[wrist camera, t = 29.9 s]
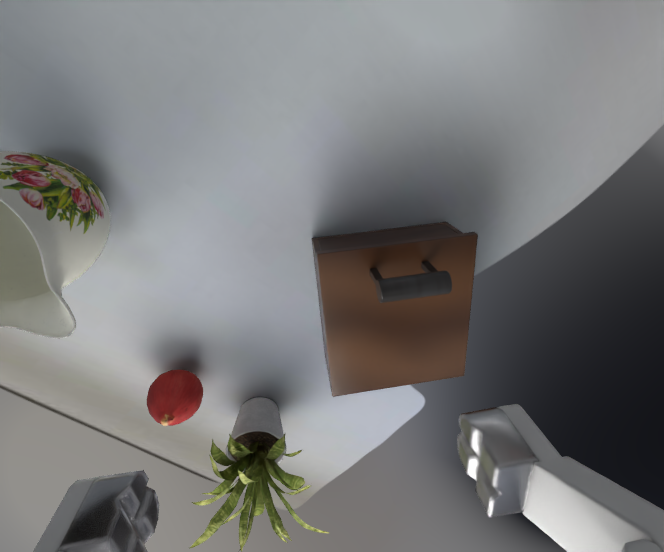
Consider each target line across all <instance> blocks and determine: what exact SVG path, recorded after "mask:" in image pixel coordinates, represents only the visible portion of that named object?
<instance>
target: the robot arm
mask: <svg viewBox="0 0 664 552" xmlns="http://www.w3.org/2000/svg"><path fill="white" fill-rule="evenodd" d="M459 426H460V427H461V430H462V431H461V433H460V434H459V435H458V437H457V439H458V440H457V446H458V452H459V456H460V459H461V462H462V465H463V467H464V469H465V471H466V473H467V474H468V475H470V476H471V477H472V478H474V479H475V480H476V481H477V482H476V493H477V494H478V497H479V499H480V500H481V502H482V504H483V506H484V508H485V510H486V512H487V514H488V516H489V517H494V516H500V515H507V514H513V513H519V512H523V514H524V515H525V516H526V517H527V518H528V519H530V520H531V521H532V522H533V523H534V524H536V525H537V526H538V527H539V528H540V529H541V530H543V531H544V532H545V533H546V534H547V535H549V536H550V537H551V538H552V539H553V540H555V541H556V542H557V543H558V544H559V545H560V546H561V547H563V548H564V549H565V550H566V551H567V552H664V510H662V509H660V508H658V507H657V506H655V505H653V504H651V503H650V502H648V501H646V500H644V499H642V498H641V497H639V496H637V495H635V494H634V493H632V492H630V491H628V490H626V489H625V488H623V487H621V486H619V485H618V484H616V483H614V482H612V481H610V480H609V479H607V478H605V477H603V476H602V475H600V474H598V473H596V472H595V471H593V470H591V469H589V468H587V467H586V466H584V465H582V464H580V463H579V462H577V461H575V460H573V459H572V458H570V457H568V456H567V457H561V456H560V454H559V453H558V452H557V451H556V449H555V448H554V447H553V446H552V444H551V443H550V442H549V441H548V440H547V438H546V437H545V436H544V434H543V433H542V432H541V431H540V429H539V428H538V427H537V426H536V425H535V423H534V422H533V421H532V420H531V418H530V417H529V416H528V415H527V413H526V412H525V411H524V410H523V408H521V406H519V405H517V404H514V405H508V406H502V407H498V408H497V407H495V408H489V409H484V410H479V411H473V412H468V413H463V414H461V415H460V417H459ZM147 482H148V477H147V475H146V473H145V472H144V470H143V471H135V472H129V473H122V474H115V475H108V476H101V477H95V478H89V479H83V480H77V481H76V482H75V483H74V484H73V485H71V486H70V488H69V489H68V491H67V493H66V495H65V497H64V498H63V500H62V502H61V503H60V505H59V507H58V509H57V510H56V512H55V514H54V516H53V517H52V519H51V521H50V523H49V525H48V526H47V528H46V530H45V532H44V533H43V535H42V537H41V539H40V541H39V542H38V544H37V546H36V548H35V549H34V551H33V552H147V549H146V547H145V542H147V540H148V539H149V538H150V537H151V536H152V535H153V533H154V532H155V528H156V525H157V521H158V513H159V502H158V497H157V495H156V492H155V490H153V489H151V488H149V487H147V486H146V485H147Z"/></svg>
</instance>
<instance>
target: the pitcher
mask: <svg viewBox="0 0 664 552" xmlns="http://www.w3.org/2000/svg"><path fill="white" fill-rule="evenodd" d="M109 231H110V211H109V207H108V204H107V202H106V199H105V197H104V195H103V194H102V192H101V191H100V189H99V188H98V187H97V185H96V184H95V183H94V182H93V181H92V180H91V179H90V178H88V177H87V176H86V175H85V174H83V173H82V172H81V171H79V170H78V169H76V168H74V167H72V166H70V165H68V164H66V163H64V162H61V161H59V160H56V159H53V158H49V157H46V156H42V155H37V154H32V153H26V152H14V151H0V327H9V328H16V329H19V330H22V331H25V332H28V333H32V334H35V335H40V336H44V337H49V338H58V339H59V338H65V337H68V336H70V335H71V334H72V333H73V332H74V330H75V328H76V322H75V318H74V316H73V314H72V311H71V309H70V308H69V306H68V305H67V303H66V302H65V300H64V299H63V298H62V288H64V287H66V286H67V285H69V284H71V283H72V282H74V281H75V280H76V279H78V278H79V277H80V276H81V275H83V274H84V273H85V272H86V271H87V270H88V269H89V268H90V267H91V266H92V265H93V264H94V262H95V261H96V260H97V258H98V257H99V255H100V254H101V252H102V250H103V249H104V247H105V244H106V242H107V239H108V236H109Z"/></svg>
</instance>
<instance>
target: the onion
mask: <svg viewBox="0 0 664 552" xmlns="http://www.w3.org/2000/svg"><path fill="white" fill-rule="evenodd" d="M202 397H203V387H202V384H201V382H200V380H199V378H198V377H197V376H196V375H195V374H193V373H191V372H190V371H186V370H181V369H179V370H171V371H168V372H166V373H163V374H161V375H159V377H158V378H157V379H156V380H155V381H154V382H153V383H152V385H151V386H150V388H149V392H148V396H147V406H148V410H149V413H150V415H151V416H152V417H153V418H154V419H155V421H156V422H158V423H160V424H162V425H164V426H167V425H176V424H179V423H181V422H183V421H185V420H187V419H189V418H190V417H192V416H193V414H194V413H195V412H196V411H197V410H198V408H199V407H200V404H201V401H202Z"/></svg>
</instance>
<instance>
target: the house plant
mask: <svg viewBox="0 0 664 552" xmlns="http://www.w3.org/2000/svg"><path fill="white" fill-rule="evenodd" d="M301 451H302V450H300V451H298V452H295V453H292V454H286V444H285V434H283V429H282V424H281V419H280V414H279V410H278V406H277V405H276V403H275V402H273V401H272V400H270V399H268V398H263V397H257V398H252V399H250V400H248V401H246V402H245V403H244V404H243V405H242V406H241V408H240V411H239V414H238V417H237V420H236V422H235V425H234V428H233V431H232V434H231V435H230V438H229V442H228V445H227V448H226V455H225V454H224V453H223V452H222V451H221V450H220V449H219V448H218V447H216V445H215V444H214V443H213V439H212V447H211V455H212V457H213V459H214V460H215V461H216V462H217V463H219V464H221V465H224V466H229V465H231V466H230V467H228V468H227V469H226V470H224V471H220V472H219V471H218V469H217V466H216V464H215V462H214V461H213V459H212V457H211V456H210V459H211V462H212V467H213V471H214V473H215V474H216V475H217V476H218V477H220V478H222V479H225V480H224V481H223V482H222V483H221V484H220V485H219V486H218V487H217V488H216V489H215V490H214V491H213V492H210V493H207V494H211V495H217V496H215V497H214V498H211V499H208V500H204V501H200V502H196V503H193V502H192V503H193V504H196V505H207V504H210V503H212V502H214V501H216V500H217V499H219V498H220V497H222V496H223V495H224V494H227V493H231V492H232V493H231V494H230V496H229V497H228V499H227V500H226V502H225V503H224V505H223V506H222V507H221V508H220V509H219V511H218V512H217V513H216V514H215V515H214V517H213V518H212V519H211V521H210V523H209V525H208V527H207V529H206V530H205V532H204V533H203V534H202V535H201V536H200V537H199V538H198V539H197V540H196V541H195V543H194V544H193V545H192V546H191V547H190V548H192V547H195V546H197V545H199V544H201V543H203V542H204V541H206V540H207V539H208V538H209V537H210V536H212V535H213V534H214V533H215V532H216V531H217V529H218V528H219V527H220V526H221V525H223V524H225V523H226V522H228V521H230V520H232V519H233V518H235V517H236V516H237V515H238V514H240V513H241V516H240V523H239V543H240V547H241V549H240V550H241V551H242V548H243V546H244V545H245V543H246V541H247V539H248V536H249V533H250V530H251V526H252V522H253V517H254V516H258V515H260V514H262V513H263V511H264V503H265V506H266V509H267V512H268V515H269V517H270V521H271V524H272V527H273V530H274V531H275V533H276V534H277V535H278V536H279V537H280V538H281V539H282V540H283V541H285V542H287V541H286V540H285V539H284V538H283V537H282V535H284V536H285V537H286V538H288V539H289V540H291V539H290V538H289V535H288V533H287V531H286V530H285V529H284V527H283V524H282V521H281V518H280V516H279V515H278V513H277V511H276V509H275V507H274V504H273V501H272V497H271V493H270V490H269V487H268V483H269V484H270V486H271V487H273V488H274V489H275V491H276V493H277V494H278V496H279V497H280V499H281V500H282V502H283V503H284V505H285V506H286V508H287V509H288V511H289V512H290V514H291V515H292V516H293V517H294V519H295V520H296V521H297V522H298V523H299V524H300V525H301V526H303V527H305V528H307V529H309V530H312V531H316V532H321V533H328V532H325V531H321V530H318V529H315V528H313V527H311V526H309V525H307V524H306V523H305V522H303V521H302V520H301V519H300V518H299V517H298V516H297V515H296V514H295V512H294V511H293V509H292V508H291V507H290V505H289V504H288V502H287V501H286V500H285V498H284V497H283V496H282V494H281V493H285V492H283V491H282V490H281V489H280V488H279V487H278V486H277V485H276V484H275V483H274V482H273V480H272V478H271V476H270V474H271V475H272V476H273V477H274V478H275V479H277V480H279V481H280V482H281V483H282V484H283V485H285V486H286V487H287V488H289V489H291V490H297V489H299V488H301V487H302V486H303V485H304V483H305V481H304V479H303V478H302V477H299V476H295V475H291V474H288V473H285V472H284V471H283V470H282V469H281V468H280V467H279V466H278V464H279V463H280V462H281V461H282V460H283V458H284V456H289V457H292V456H295V455H297V454H299V453H300V452H301ZM243 471H244V472H243ZM242 472H243V473H242ZM269 473H270V474H269ZM237 476H239V479H238V480H237V481H238V482H237V481H236V482H237V484H236V485H235V486H234V487H233V488H232V489H231V487H232V486H233V485H234V484H233V485H232V486H231V484H232V483H233V482H234V480H235V479H236V477H237ZM236 482H235V483H236ZM247 484H248V486H247V489H246V493H245V498H244V503H243V507H242V508H241V509H240V510H239V511H238V512H236V513H235V514H234V515H233V516H231V517H230V518H228V519H227V517H228V516H229V515H230V514H231V513H232V511H233V510H234V508H235V507H236V505H237V502H238V500H239V497H240V495H241V494H242V492H243V490H244V488H245V487H246V485H247ZM230 486H231V487H230ZM308 486H309V485H308ZM308 486H306V487H304V488H302V489H299V490H297V491H295V492H291V493H287V494H290V495H295V494H297V493H300V492H301V491H303V490H306V489H308V488H309V487H310V486H309V487H308ZM311 486H312V485H311ZM280 492H281V493H280ZM204 494H206V493H204ZM251 502H252V508H251V513H250V516H249V510H250V506H251ZM241 511H242V512H241ZM248 516H249V523H248ZM226 519H227V520H226ZM225 520H226V521H225ZM224 521H225V522H224ZM223 522H224V523H223ZM247 524H248V529H247ZM246 531H247V533H246ZM279 531H280V532H281V534H282V535H281V534H280V532H279ZM245 534H246V536H245ZM244 537H245V538H244Z"/></svg>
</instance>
